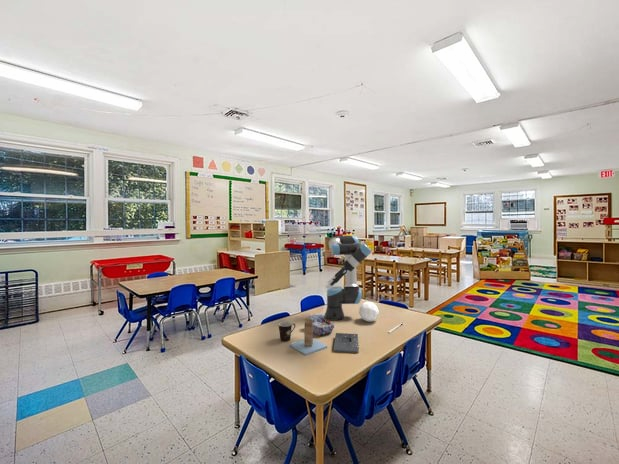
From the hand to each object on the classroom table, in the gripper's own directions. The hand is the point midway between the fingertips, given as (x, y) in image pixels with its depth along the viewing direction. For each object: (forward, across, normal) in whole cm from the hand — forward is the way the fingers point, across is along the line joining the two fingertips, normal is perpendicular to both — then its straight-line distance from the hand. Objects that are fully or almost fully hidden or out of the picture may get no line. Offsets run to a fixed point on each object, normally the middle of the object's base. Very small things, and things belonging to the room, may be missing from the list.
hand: (328, 285), depth 191 cm
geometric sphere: (+3, +30, -43) cm, 53 cm away
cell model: (+28, +5, -19) cm, 34 cm away
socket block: (+14, -14, -32) cm, 38 cm away
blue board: (+30, -20, -16) cm, 40 cm away
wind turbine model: (-9, +22, -56) cm, 61 cm away
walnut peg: (+30, -20, -15) cm, 39 cm away
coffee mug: (+41, -11, -5) cm, 43 cm away
